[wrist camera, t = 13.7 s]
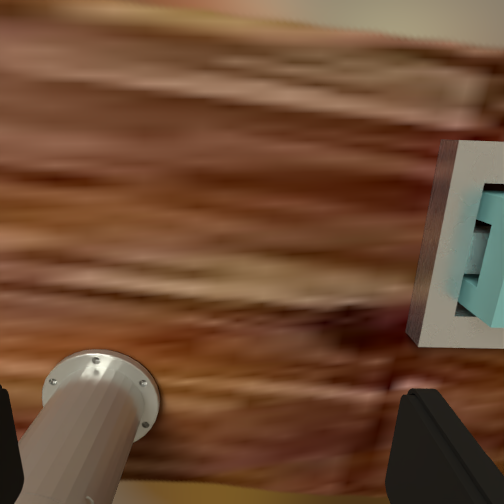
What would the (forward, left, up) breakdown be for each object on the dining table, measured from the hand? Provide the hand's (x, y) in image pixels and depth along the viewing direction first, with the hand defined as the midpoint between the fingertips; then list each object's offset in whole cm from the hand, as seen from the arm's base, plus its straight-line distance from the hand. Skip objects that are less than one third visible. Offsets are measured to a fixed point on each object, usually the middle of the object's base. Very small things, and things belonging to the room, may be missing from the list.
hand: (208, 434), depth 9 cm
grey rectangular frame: (-3, -25, -28) cm, 38 cm away
